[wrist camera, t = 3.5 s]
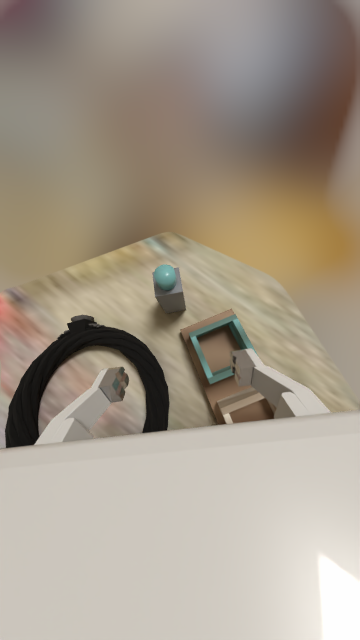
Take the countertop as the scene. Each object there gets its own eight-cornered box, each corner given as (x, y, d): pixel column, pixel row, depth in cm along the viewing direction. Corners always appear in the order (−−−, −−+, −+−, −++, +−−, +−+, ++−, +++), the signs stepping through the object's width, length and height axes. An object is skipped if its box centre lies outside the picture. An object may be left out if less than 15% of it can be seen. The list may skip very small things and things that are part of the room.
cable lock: (-16, 554, 18) (6, 334, 26) (20, 520, 21) (29, 336, 29) (189, 508, 17) (145, 294, 25) (190, 480, 20) (152, 302, 28)
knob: (186, 309, 27) (181, 284, 17) (166, 313, 27) (150, 290, 17) (182, 291, 28) (177, 258, 18) (163, 295, 28) (148, 263, 18)
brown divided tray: (299, 442, 20) (328, 466, 15) (236, 468, 20) (248, 499, 15) (229, 311, 26) (236, 302, 21) (181, 331, 26) (178, 326, 21)
